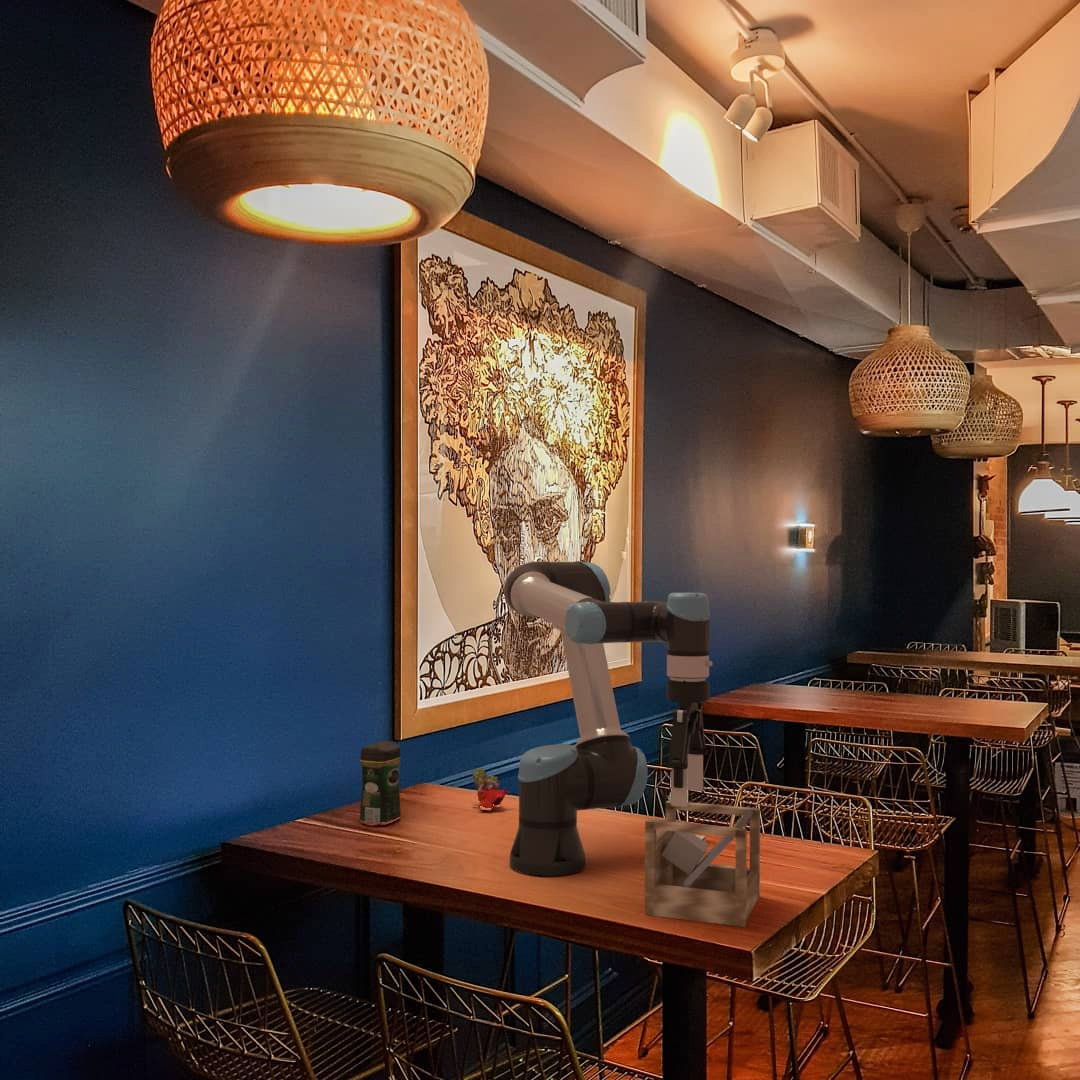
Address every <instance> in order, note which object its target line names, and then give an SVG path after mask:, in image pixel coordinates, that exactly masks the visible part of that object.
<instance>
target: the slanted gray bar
mask: <svg viewBox="0 0 1080 1080" xmlns="http://www.w3.org/2000/svg"><path fill="white" fill-rule="evenodd" d="M752 814H753V812H752V811H751V810H750V809H749V810H748V811H747V812H746V813H745V814H744V815H743V816H741V817H740V818H739V819H738V821H737V822H735V823H734V825H733V826H732V827H736V828H745V826H746V825H747V823H748V822H749V821H750V817H751V816H752ZM734 839H736V837H730V836H722V838H720V839H719V841H717V842H716V844H715V845H714V846H713V847H711V849H710V850H709V851H708V852H707V853H706V856H705V857H704V858H703V859H702V860H701V861H700V862H699V863H698V865H697V866H696V868H695V869H694V870H693V872H692V873H691V874H690V875H689V876H688V878H687V879H686V880H685V882H684V883H683V885H684V886H685V887H689V886H690V885H691V884H692V882H693V881H694V880H695V879H696V878H697V877H698V876H699V875H700V874H701V873H702V872H703V871H704V870H705V869H706V868H707V867H708V865H709V864H712V863H713V862H714V860H715V859H716V858H718V856H719V855H720V854H721V853H722V852H723V851H724V850H725V848H727V847H728V845H730V843H731V842H732V841H733V840H734Z"/></svg>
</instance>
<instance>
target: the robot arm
mask: <svg viewBox="0 0 1080 1080" xmlns="http://www.w3.org/2000/svg"><path fill="white" fill-rule="evenodd" d="M503 585H504V586H503V594H504V595H503V596H504V599H505V601H506V603H507V605H508V606H509V607H510V608H511V610H513V611H514V612H516V613H518V614H520V615H522V616H525V617H529V618H530V617H531V618H532V617H533V618H534V617H538V618H541V619H542V620H545V621H547V622H549V623H551V624H552V627H553V628H554V629H556V630H558V631H559V632H560V634H561V639H562V645H563V650H564V654H565V661H566V666H567V671H568V672H567V673H568V677H569V684H570V686H571V687H570V688H571V694H572V700H573V704H574V710H575V715H576V719H577V726H578V730H579V731H578V732H579V737H580V738H579V739H578V741H577V742H576V744H575V745H572V744H564V743H561V744H547V745H541V746H537V747H534V748H531V749H529V750H527V751H525V752H524V753H523V754H522V755H521V756H520V759H519V768H518V775H517V778H518V827H517V830H516V834H515V837H514V840H513V844H512V847H511V849H510V853H509V867H510V866H511V867H512V868H513V869H515V870H517V871H516V872H518V871H520V872H519V873H521V872H523V873H522V874H524V873H528V874H527V875H530V874H532V875H531V876H538V875H542V876H541V877H557V876H566V875H567V874H568V875H572V874H575V873H578V872H581V871H583V870H584V869H585V868H586V854H585V853H586V852H585V850H584V846H583V843H582V840H581V837H580V834H579V830H578V811H587V810H595V809H596V810H597V809H604V808H605V809H606V808H620V807H623V806H630V805H635V804H636V803H637V802H638V801H639V800H641V798H642V797H643V795H644V792H645V789H646V786H647V782H648V763H647V762H648V761H647V758H646V755H645V753H644V752H643V750H641V749H640V748H639V747H636V746H632V741H631V738H630V735H629V734H628V733H626V732H625V731H623V730H622V729H621V724H620V719H619V714H618V709H617V705H616V700H615V695H614V690H613V685H612V681H611V675H610V670H609V666H608V660H607V655H606V651H605V644H614V643H621V644H622V643H623V644H624V643H653V642H655V643H657V642H658V643H666V644H667V645H666V650H667V651H666V654H667V655H666V676H667V677H668V678H669V679H668V680H667V681H666V698H667V700H668V701H670V702H672V703H674V702H675V703H677V704H678V706H677V709H673V711H672V726H671V727H672V728H671V734H670V735H671V737H670V747H669V753H668V754H669V755H668V756H669V757H668V762H666V765H665V766H666V769H670V771H671V774H670V776H671V777H670V779H671V782H670V784H671V785H670V787H671V789H670V791H671V792H670V793H671V794H670V801H671V806H680V807H687V806H688V802H689V801H688V797H689V796H688V795H689V794H688V793H689V792H688V791H693V792H694V791H697V792H703V791H704V755H707V754H708V748H706V746H707V745H706V738H705V729H704V718H703V703H706V702H708V701H709V700H710V682H709V680H708V679H707V678H709V677H710V667H712V666H713V662H712V660H709V659H710V641H711V640H710V637H711V635H710V634H711V633H710V629H711V625H710V624H711V612H710V600H709V599H710V598H709V596H708V595H707V594H706V593H703V592H671V593H669V594H668V596H667V602H666V601H661V600H655V599H654V600H645V601H620V602H619V601H618V602H617V601H615V602H614V601H611V597H610V596H611V586H610V585H611V584H610V581H609V578H608V576H607V574H606V573H605V571H604V570H603V569H602V568H601V566H599V565H598V564H596V563H594V562H585V561H581V560H576V561H530V562H527V563H523V564H521V565H519V566H517V567H516V568H514V570H512V571H511V572H510V573H509V574H508V576H507V578H506V579H505V582H504V584H503ZM511 867H510V868H511ZM512 868H511V869H512ZM513 869H512V870H513ZM515 870H514V871H515ZM568 875H567V876H568Z"/></svg>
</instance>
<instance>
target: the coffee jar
mask: <svg viewBox="0 0 1080 1080" xmlns="http://www.w3.org/2000/svg"><path fill="white" fill-rule="evenodd" d="M359 758H360V759H359V762H360V766H361V775H362V777H361V792H360V793H361V794H360V795H361V796H360V808H359V821H360V820H362V821H365V822H374V823H381V822H388V821H391V820H394V819H396V818H398V817H400V816H401V817H402V814H401V812H402V811H401V797H400V763H401V747H400V745H399V744H398V742H396V741H390V740H382V741H378V742H374V743H371V744H366V745H364V746H363V747H362V748H361V749H360V757H359ZM401 817H400V818H401Z"/></svg>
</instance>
